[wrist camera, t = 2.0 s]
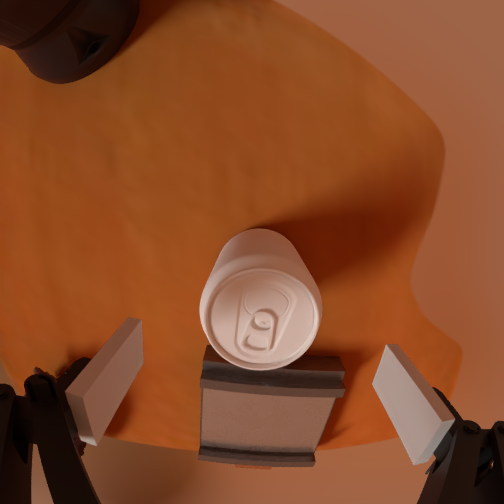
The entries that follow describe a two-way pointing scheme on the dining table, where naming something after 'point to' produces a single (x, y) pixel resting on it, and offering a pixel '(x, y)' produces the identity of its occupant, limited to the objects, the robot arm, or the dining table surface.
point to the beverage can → (260, 302)
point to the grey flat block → (266, 410)
